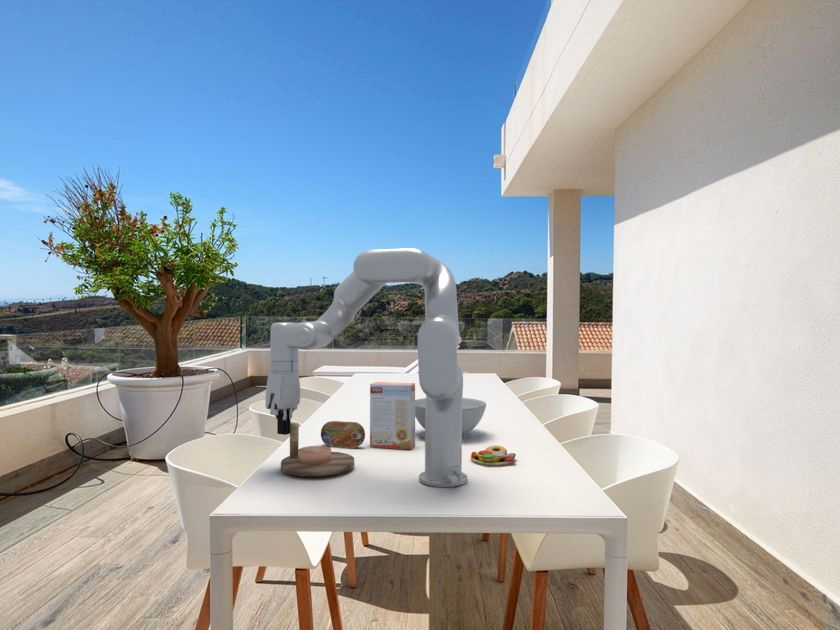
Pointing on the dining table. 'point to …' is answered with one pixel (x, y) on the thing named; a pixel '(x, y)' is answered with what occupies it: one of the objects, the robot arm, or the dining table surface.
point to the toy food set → (493, 456)
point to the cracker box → (392, 415)
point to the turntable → (292, 466)
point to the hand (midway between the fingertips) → (283, 433)
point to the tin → (342, 434)
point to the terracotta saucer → (314, 455)
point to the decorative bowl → (470, 413)
